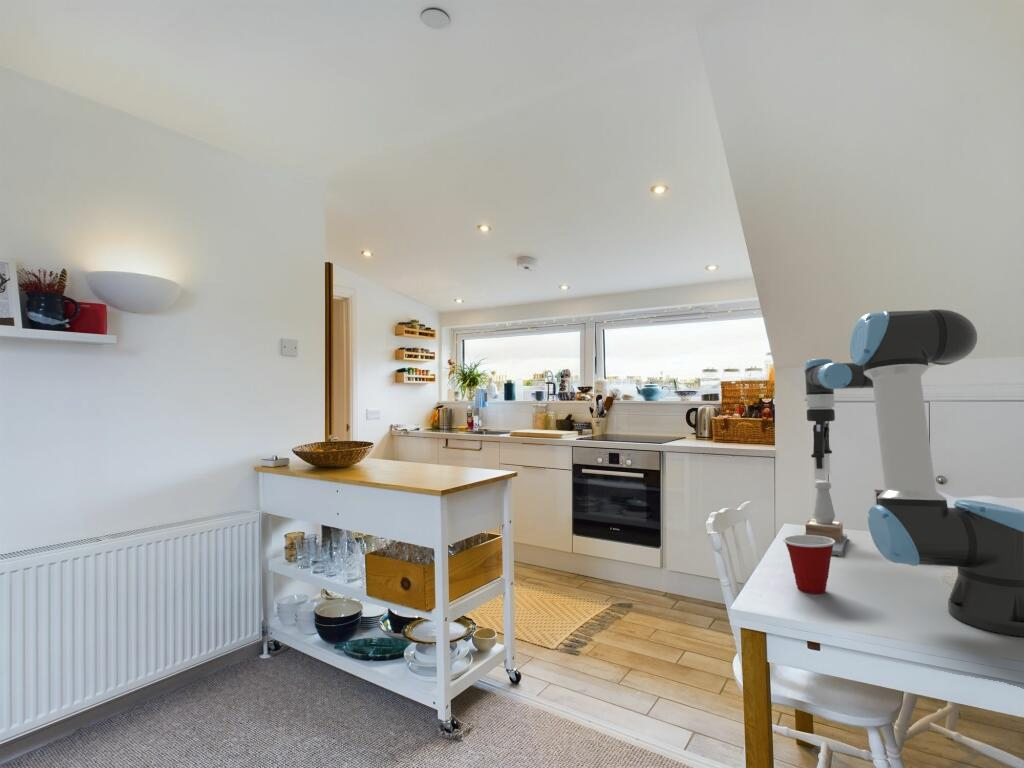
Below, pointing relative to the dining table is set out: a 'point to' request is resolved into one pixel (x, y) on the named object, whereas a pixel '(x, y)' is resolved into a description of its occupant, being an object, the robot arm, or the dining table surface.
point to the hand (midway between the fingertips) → (822, 476)
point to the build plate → (839, 546)
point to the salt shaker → (823, 503)
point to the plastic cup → (810, 561)
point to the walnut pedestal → (825, 529)
